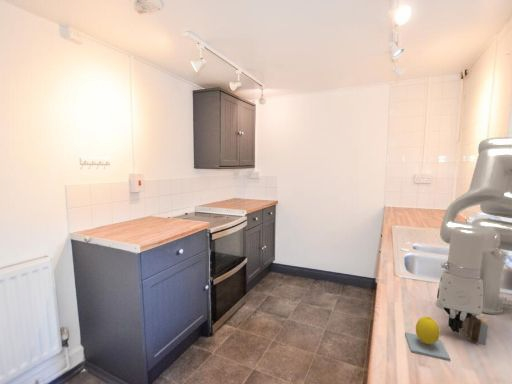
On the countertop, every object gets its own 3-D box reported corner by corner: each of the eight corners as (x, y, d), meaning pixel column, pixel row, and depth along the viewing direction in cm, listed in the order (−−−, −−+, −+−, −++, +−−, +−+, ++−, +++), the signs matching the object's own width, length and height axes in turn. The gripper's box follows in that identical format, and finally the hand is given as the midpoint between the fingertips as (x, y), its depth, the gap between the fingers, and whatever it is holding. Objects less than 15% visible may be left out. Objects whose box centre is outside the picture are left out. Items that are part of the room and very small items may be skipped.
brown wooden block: (453, 317, 88) (455, 299, 87) (460, 318, 87) (463, 301, 87) (469, 340, 77) (472, 320, 76) (478, 342, 76) (481, 322, 75)
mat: (440, 341, 77) (440, 339, 77) (450, 360, 70) (450, 358, 70) (404, 334, 80) (405, 332, 80) (410, 351, 73) (411, 349, 72)
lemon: (416, 335, 79) (419, 309, 78) (439, 344, 75) (442, 317, 74) (412, 344, 75) (415, 316, 74) (435, 354, 71) (439, 325, 70)
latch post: (481, 340, 78) (484, 318, 78) (485, 345, 76) (488, 323, 75) (473, 338, 79) (476, 316, 78) (476, 343, 77) (480, 321, 76)
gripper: (434, 269, 78) (427, 329, 80) (501, 281, 72) (490, 345, 74) (429, 261, 84) (422, 316, 86) (489, 271, 79) (480, 330, 81)
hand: (454, 329), depth 80 cm, fingers closed
